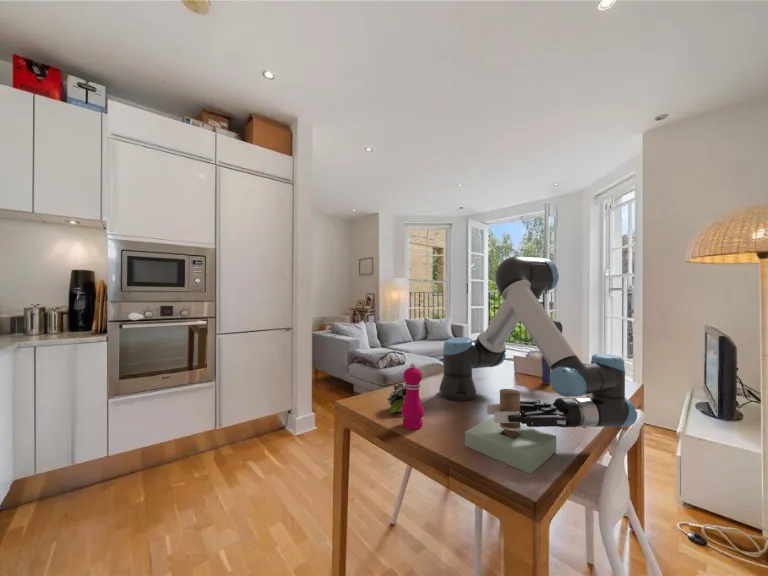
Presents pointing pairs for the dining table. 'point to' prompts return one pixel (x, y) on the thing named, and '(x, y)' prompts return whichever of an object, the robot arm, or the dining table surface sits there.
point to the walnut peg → (510, 410)
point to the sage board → (512, 445)
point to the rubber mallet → (544, 364)
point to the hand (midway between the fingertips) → (491, 413)
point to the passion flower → (397, 398)
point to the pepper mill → (412, 399)
